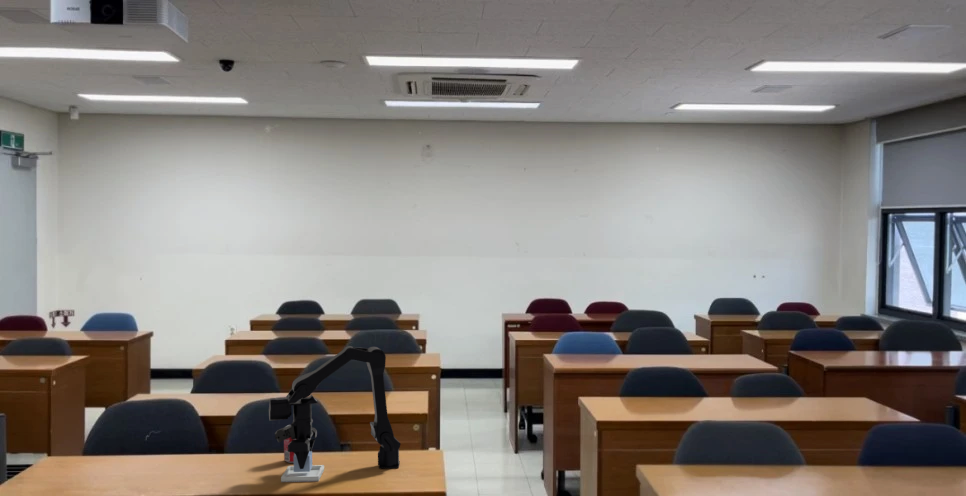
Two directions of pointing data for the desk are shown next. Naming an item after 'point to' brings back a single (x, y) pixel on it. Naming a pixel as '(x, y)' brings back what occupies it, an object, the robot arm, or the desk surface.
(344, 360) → the robot arm
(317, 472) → the tray
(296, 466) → the block
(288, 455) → the beverage can
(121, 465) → the desk surface
